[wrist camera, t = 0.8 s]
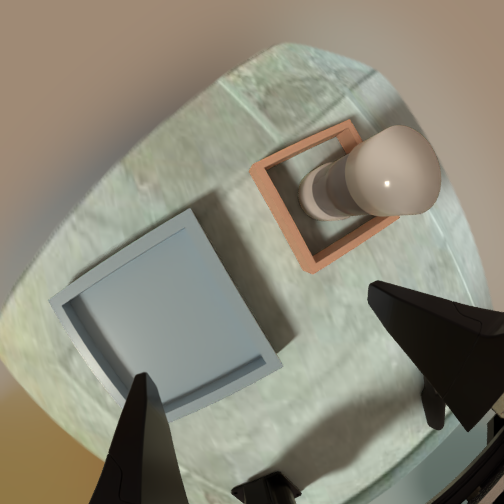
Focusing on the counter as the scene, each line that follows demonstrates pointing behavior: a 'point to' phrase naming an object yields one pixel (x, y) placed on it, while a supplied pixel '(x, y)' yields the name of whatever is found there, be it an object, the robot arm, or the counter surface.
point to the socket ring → (266, 187)
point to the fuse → (375, 179)
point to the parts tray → (166, 321)
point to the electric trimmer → (433, 406)
